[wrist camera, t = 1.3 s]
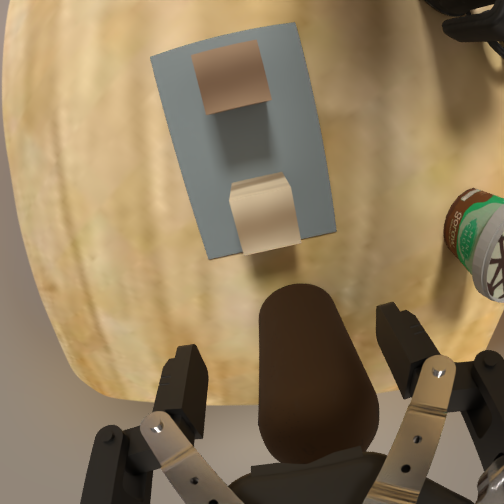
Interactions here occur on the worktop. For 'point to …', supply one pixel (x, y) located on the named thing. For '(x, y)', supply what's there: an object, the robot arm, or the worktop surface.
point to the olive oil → (311, 379)
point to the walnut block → (231, 77)
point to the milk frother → (473, 21)
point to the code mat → (247, 136)
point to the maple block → (264, 213)
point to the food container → (479, 239)
